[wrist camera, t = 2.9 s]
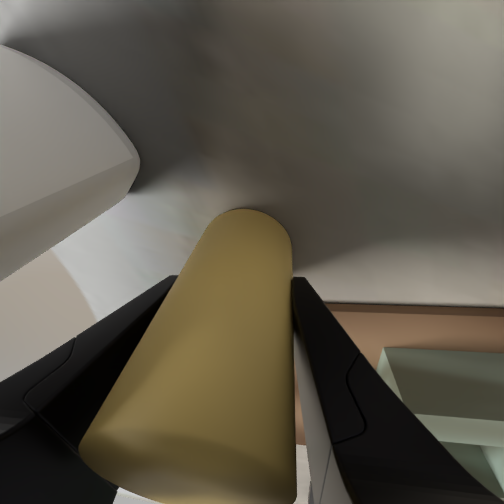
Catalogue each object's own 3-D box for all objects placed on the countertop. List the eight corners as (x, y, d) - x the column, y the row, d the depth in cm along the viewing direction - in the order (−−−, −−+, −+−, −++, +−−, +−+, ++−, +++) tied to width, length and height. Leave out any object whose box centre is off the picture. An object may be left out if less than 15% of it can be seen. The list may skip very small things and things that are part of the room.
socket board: (529, 460, 17) (578, 536, 14) (291, 436, 20) (292, 497, 17) (711, 314, 10) (890, 410, 7) (293, 302, 12) (295, 370, 9)
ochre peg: (291, 286, 11) (295, 526, 5) (210, 285, 12) (124, 499, 6) (292, 207, 9) (299, 445, 3) (194, 210, 10) (34, 416, 4)
